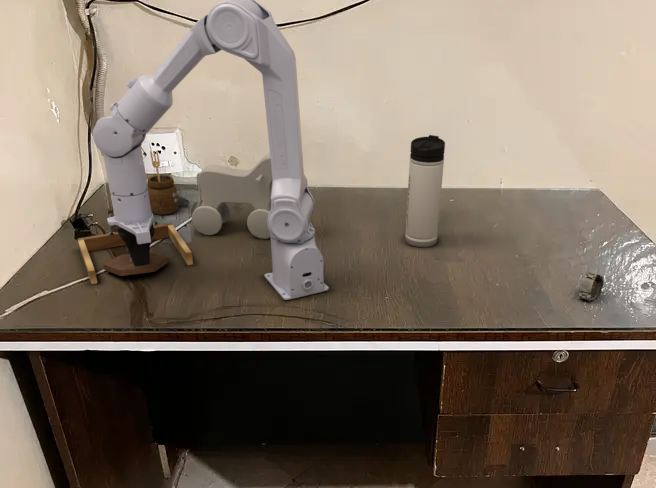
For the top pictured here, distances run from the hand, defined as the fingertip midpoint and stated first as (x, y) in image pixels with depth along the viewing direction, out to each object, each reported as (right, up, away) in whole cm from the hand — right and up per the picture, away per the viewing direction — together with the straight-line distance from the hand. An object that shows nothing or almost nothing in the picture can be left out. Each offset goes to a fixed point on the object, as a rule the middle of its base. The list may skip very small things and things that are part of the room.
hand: (141, 266), depth 106 cm
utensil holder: (-5, +13, +27) cm, 30 cm away
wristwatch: (+75, -5, -2) cm, 76 cm away
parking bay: (-3, +2, +6) cm, 8 cm away
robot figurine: (-1, 0, +2) cm, 3 cm away
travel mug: (+49, +6, +16) cm, 52 cm away
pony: (+14, +8, +18) cm, 24 cm away
